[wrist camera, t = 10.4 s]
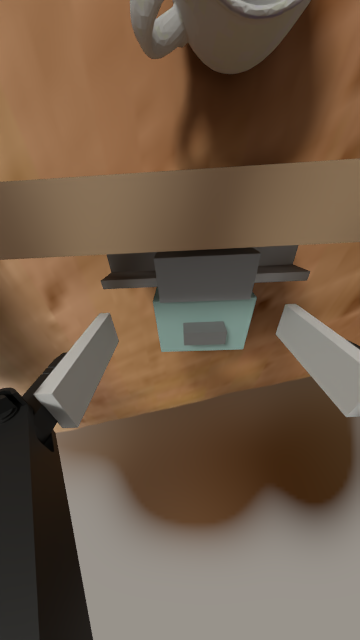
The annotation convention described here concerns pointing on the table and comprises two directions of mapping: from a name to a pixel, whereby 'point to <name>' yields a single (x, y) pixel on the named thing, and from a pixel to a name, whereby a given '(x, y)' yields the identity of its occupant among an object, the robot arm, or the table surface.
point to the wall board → (183, 216)
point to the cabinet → (205, 298)
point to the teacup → (216, 29)
